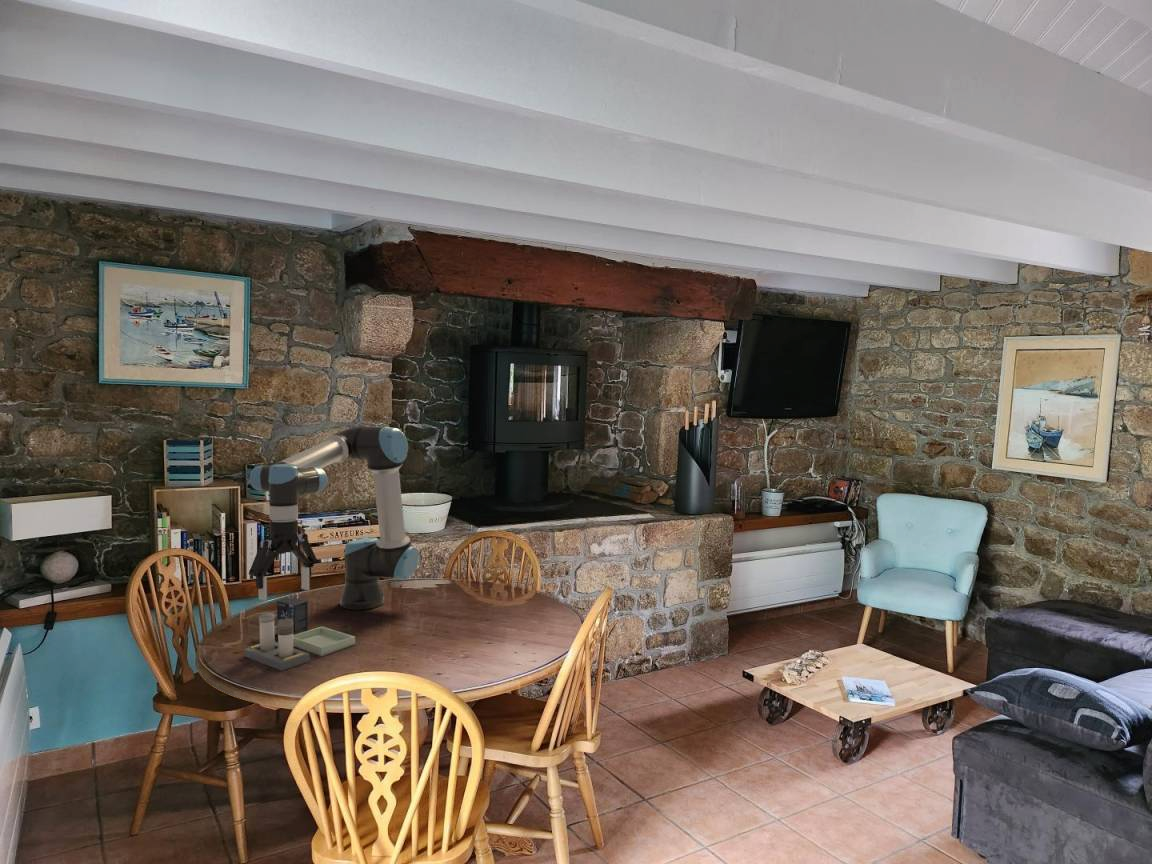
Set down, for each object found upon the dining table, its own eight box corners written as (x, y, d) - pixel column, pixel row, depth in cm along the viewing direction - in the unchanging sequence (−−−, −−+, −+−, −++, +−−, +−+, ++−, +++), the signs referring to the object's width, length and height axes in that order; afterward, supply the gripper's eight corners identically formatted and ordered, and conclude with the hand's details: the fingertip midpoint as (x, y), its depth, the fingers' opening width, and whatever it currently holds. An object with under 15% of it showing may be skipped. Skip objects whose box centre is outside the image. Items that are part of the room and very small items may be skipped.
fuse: (269, 651, 228) (269, 611, 227) (278, 654, 225) (277, 614, 225) (256, 655, 224) (256, 615, 224) (265, 659, 222) (264, 618, 221)
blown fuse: (288, 658, 223) (287, 617, 222) (297, 661, 220) (296, 620, 219) (275, 662, 219) (274, 621, 218) (284, 666, 217) (283, 624, 216)
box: (276, 633, 244) (276, 600, 243) (291, 628, 249) (291, 596, 248) (294, 638, 240) (293, 604, 239) (308, 633, 245) (308, 600, 244)
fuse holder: (244, 656, 224) (244, 648, 224) (272, 647, 231) (272, 639, 231) (281, 670, 213) (281, 661, 213) (309, 661, 221) (309, 652, 221)
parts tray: (288, 644, 234) (288, 636, 234) (322, 634, 244) (321, 626, 244) (321, 656, 225) (321, 647, 225) (355, 644, 235) (355, 636, 234)
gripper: (313, 512, 229) (314, 583, 231) (234, 524, 209) (235, 601, 210) (329, 515, 225) (330, 587, 226) (250, 527, 204) (251, 606, 206)
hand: (284, 594), depth 218 cm, fingers open, 13 cm apart
